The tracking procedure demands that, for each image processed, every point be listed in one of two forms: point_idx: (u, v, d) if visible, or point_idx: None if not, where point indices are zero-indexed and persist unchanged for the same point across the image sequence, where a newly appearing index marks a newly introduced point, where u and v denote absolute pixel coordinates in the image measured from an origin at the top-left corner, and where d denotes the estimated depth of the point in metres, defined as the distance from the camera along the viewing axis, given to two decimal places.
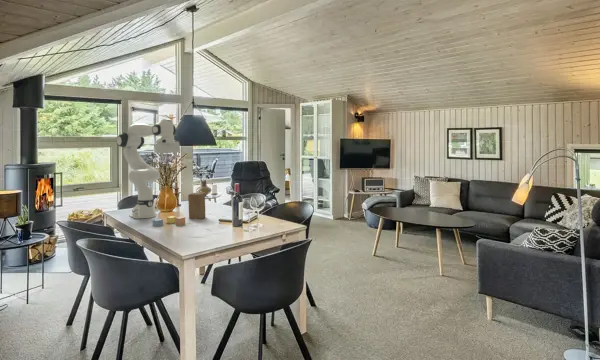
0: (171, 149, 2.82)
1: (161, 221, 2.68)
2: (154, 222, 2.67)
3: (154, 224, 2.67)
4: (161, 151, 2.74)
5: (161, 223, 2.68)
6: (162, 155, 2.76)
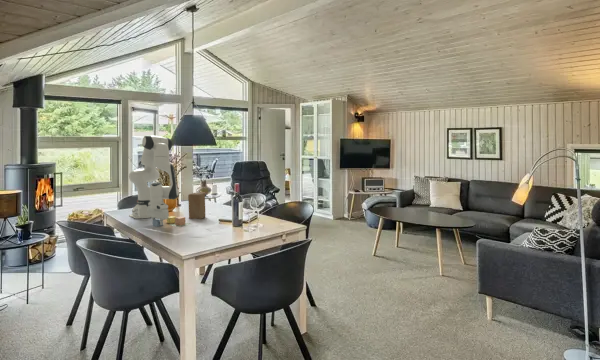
0: None
1: None
2: (154, 222, 2.67)
3: (154, 224, 2.67)
4: None
5: None
6: (162, 220, 2.67)
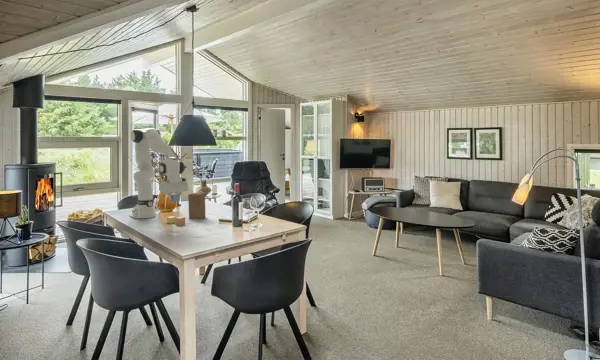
0: None
1: None
2: (176, 196, 2.67)
3: (176, 198, 2.67)
4: None
5: None
6: None
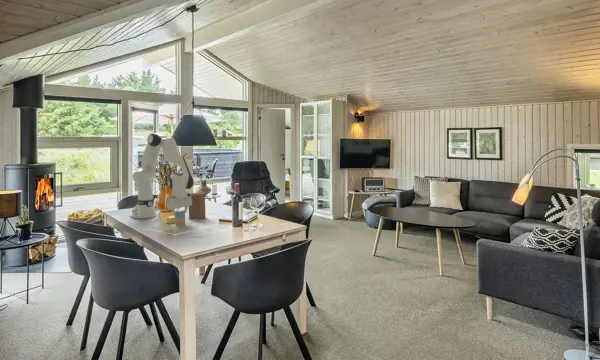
0: None
1: None
2: (181, 213, 2.70)
3: (181, 215, 2.70)
4: None
5: None
6: None
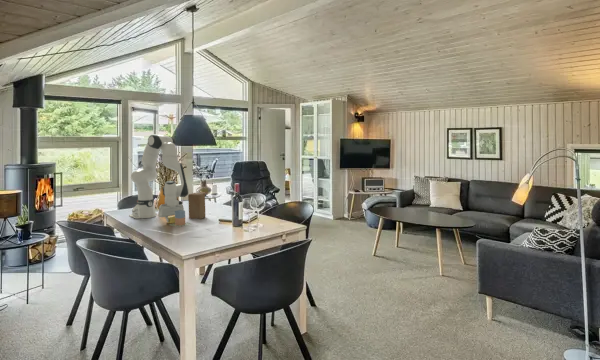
0: None
1: None
2: (181, 213, 2.70)
3: (181, 215, 2.70)
4: None
5: None
6: None
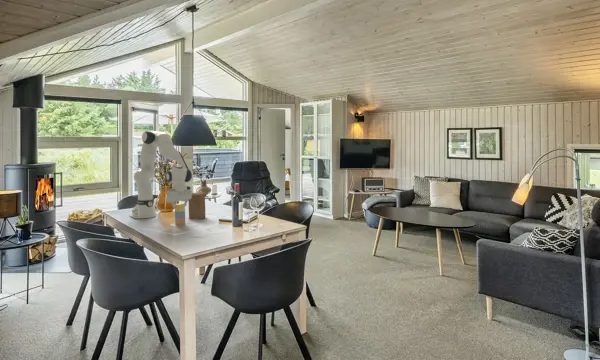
0: None
1: None
2: (182, 213, 2.70)
3: (181, 215, 2.70)
4: None
5: None
6: (185, 201, 2.76)
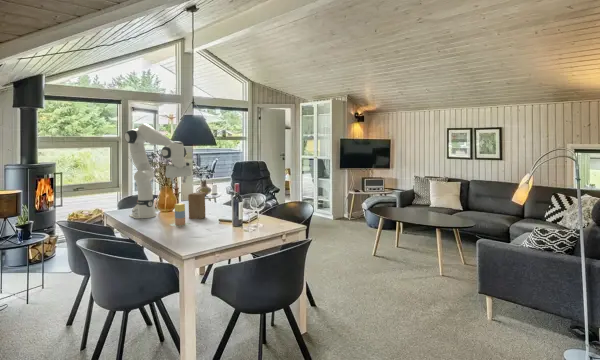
0: None
1: None
2: (182, 213, 2.70)
3: (181, 215, 2.70)
4: None
5: None
6: None
